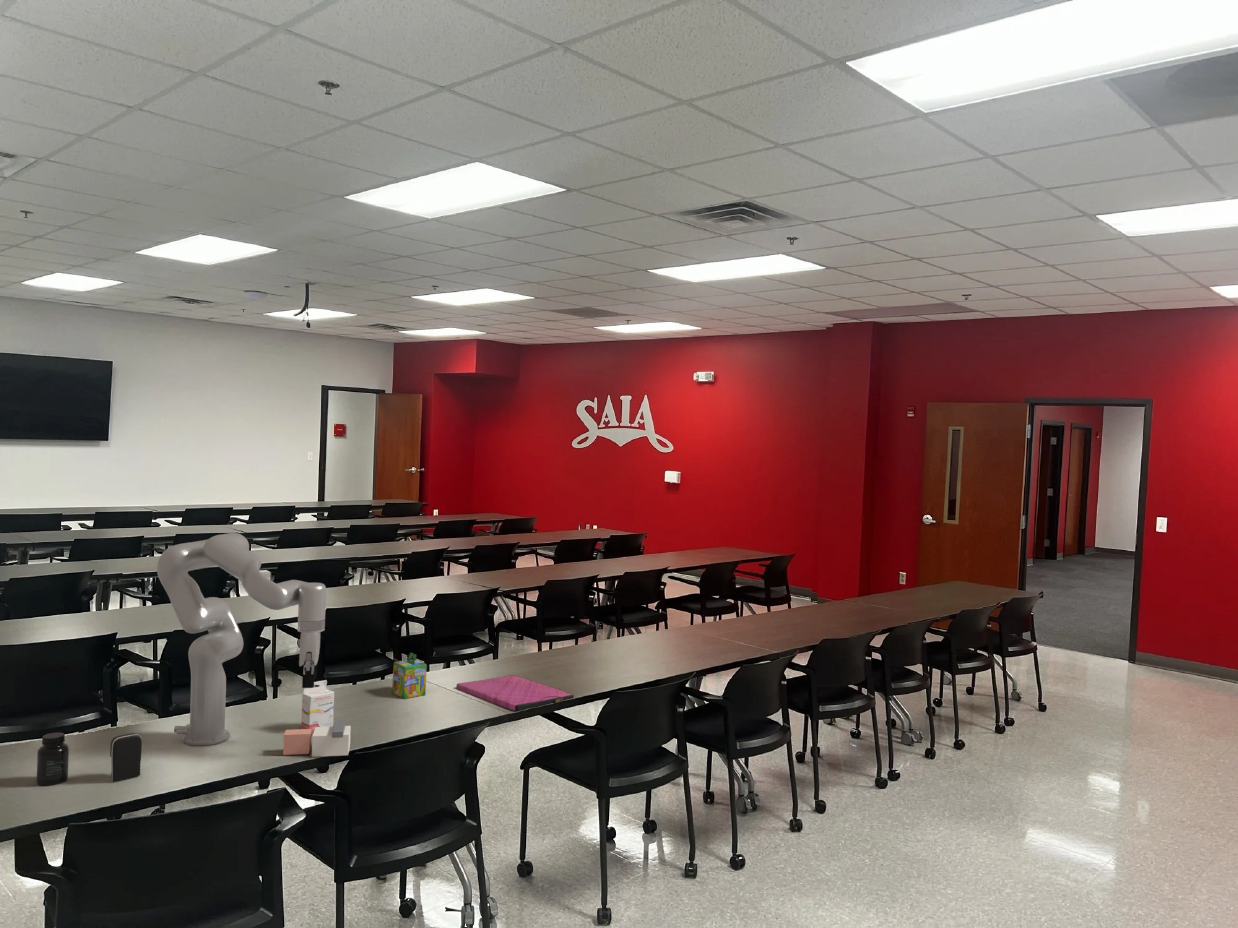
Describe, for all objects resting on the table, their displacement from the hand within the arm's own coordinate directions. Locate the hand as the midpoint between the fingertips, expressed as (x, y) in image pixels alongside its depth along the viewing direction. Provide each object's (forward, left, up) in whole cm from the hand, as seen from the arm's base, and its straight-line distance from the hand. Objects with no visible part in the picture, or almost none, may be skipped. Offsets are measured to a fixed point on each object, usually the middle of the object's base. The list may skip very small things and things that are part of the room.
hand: (309, 682), depth 249 cm
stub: (-3, -2, -20) cm, 20 cm away
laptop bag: (+68, +49, -21) cm, 86 cm away
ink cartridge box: (+1, +18, -20) cm, 27 cm away
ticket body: (+7, -2, -20) cm, 21 cm away
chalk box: (+29, +53, -20) cm, 64 cm away
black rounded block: (-44, -15, -20) cm, 51 cm away
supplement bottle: (-61, -15, -20) cm, 66 cm away
